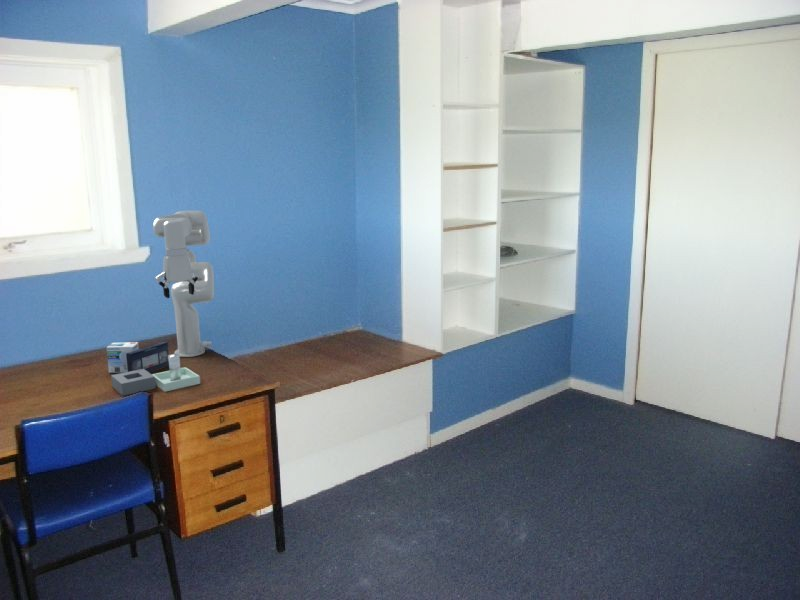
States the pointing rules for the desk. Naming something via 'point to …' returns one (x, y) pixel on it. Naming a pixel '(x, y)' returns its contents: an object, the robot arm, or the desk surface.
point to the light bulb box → (119, 356)
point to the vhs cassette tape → (148, 358)
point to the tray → (186, 380)
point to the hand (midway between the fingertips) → (179, 295)
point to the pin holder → (133, 381)
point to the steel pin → (174, 367)
